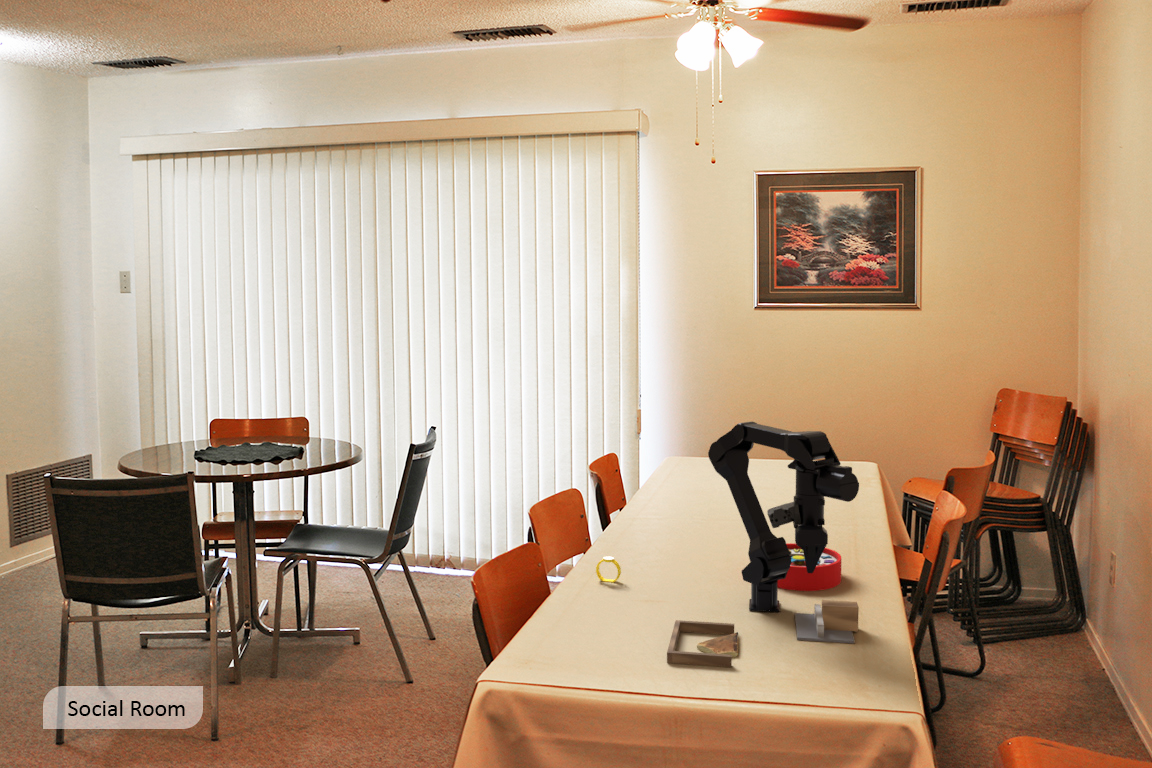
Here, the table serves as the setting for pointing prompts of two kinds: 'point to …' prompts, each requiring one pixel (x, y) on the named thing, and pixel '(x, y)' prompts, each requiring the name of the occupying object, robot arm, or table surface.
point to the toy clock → (820, 579)
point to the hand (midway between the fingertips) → (808, 566)
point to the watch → (611, 559)
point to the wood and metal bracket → (836, 616)
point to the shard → (721, 645)
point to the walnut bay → (695, 657)
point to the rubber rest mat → (809, 631)
